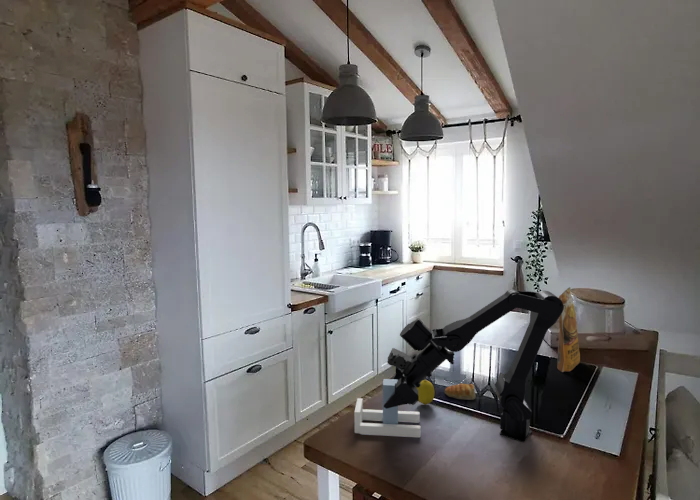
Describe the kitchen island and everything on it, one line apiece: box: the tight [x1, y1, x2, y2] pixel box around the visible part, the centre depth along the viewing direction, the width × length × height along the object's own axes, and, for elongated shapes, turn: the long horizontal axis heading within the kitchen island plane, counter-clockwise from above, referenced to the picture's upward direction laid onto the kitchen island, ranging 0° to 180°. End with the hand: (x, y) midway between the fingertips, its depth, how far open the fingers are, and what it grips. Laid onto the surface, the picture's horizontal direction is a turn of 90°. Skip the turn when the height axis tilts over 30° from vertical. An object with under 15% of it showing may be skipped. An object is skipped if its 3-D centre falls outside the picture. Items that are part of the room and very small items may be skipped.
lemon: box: [416, 379, 436, 406], centre depth 135 cm, size 6×6×8 cm
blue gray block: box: [382, 378, 399, 425], centre depth 122 cm, size 4×4×13 cm
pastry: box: [444, 383, 476, 401], centre depth 142 cm, size 9×7×4 cm
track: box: [353, 397, 422, 438], centre depth 123 cm, size 18×9×6 cm, turn 83°
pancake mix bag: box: [556, 286, 581, 373], centre depth 163 cm, size 7×19×28 cm, turn 137°
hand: (385, 399), depth 122 cm, fingers open, 9 cm apart
